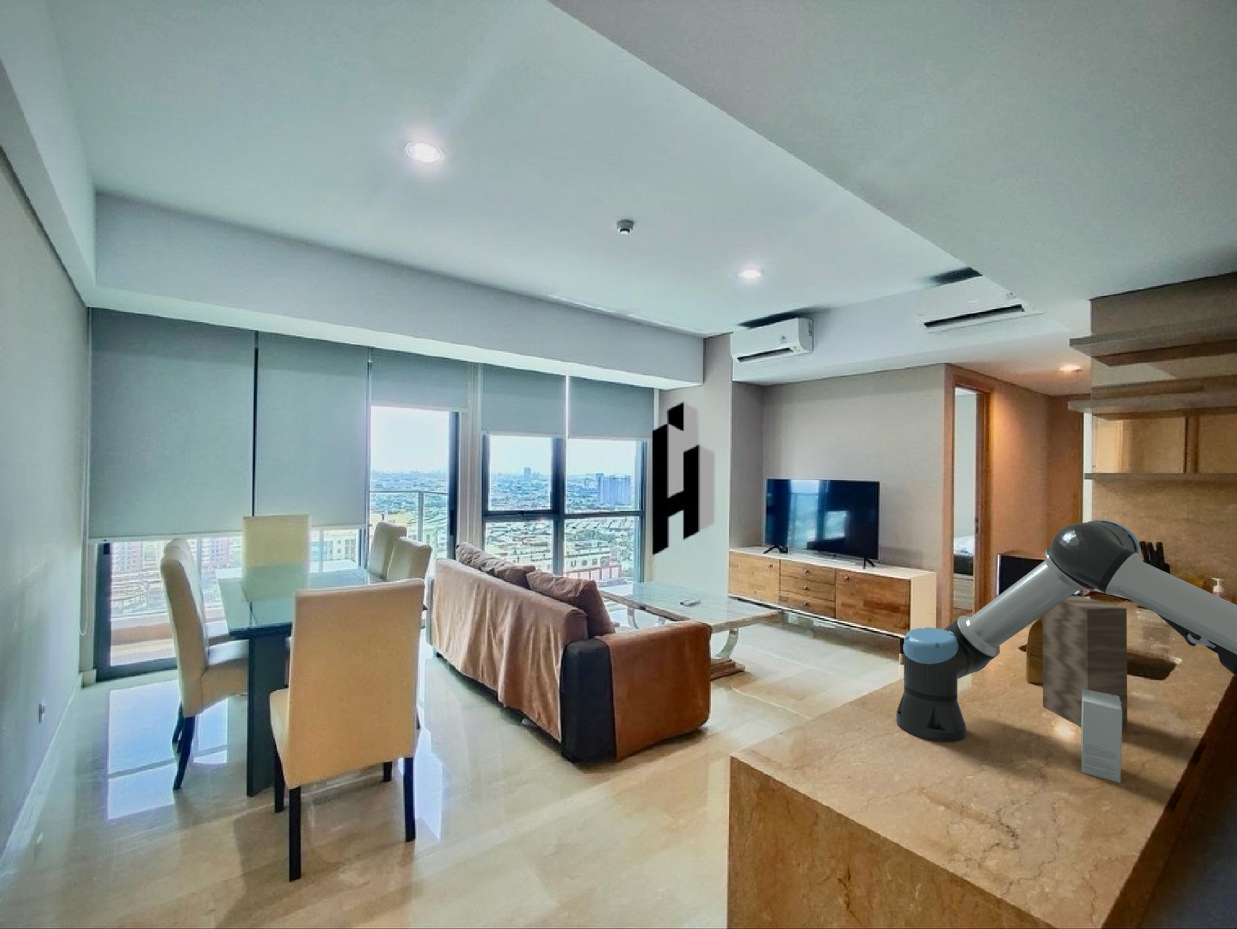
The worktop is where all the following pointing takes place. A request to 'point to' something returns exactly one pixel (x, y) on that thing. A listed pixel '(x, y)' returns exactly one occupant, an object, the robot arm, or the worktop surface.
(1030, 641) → the brown bottle
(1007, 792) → the worktop surface
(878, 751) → the worktop surface
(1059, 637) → the walnut stand
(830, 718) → the worktop surface
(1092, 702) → the skincare box
